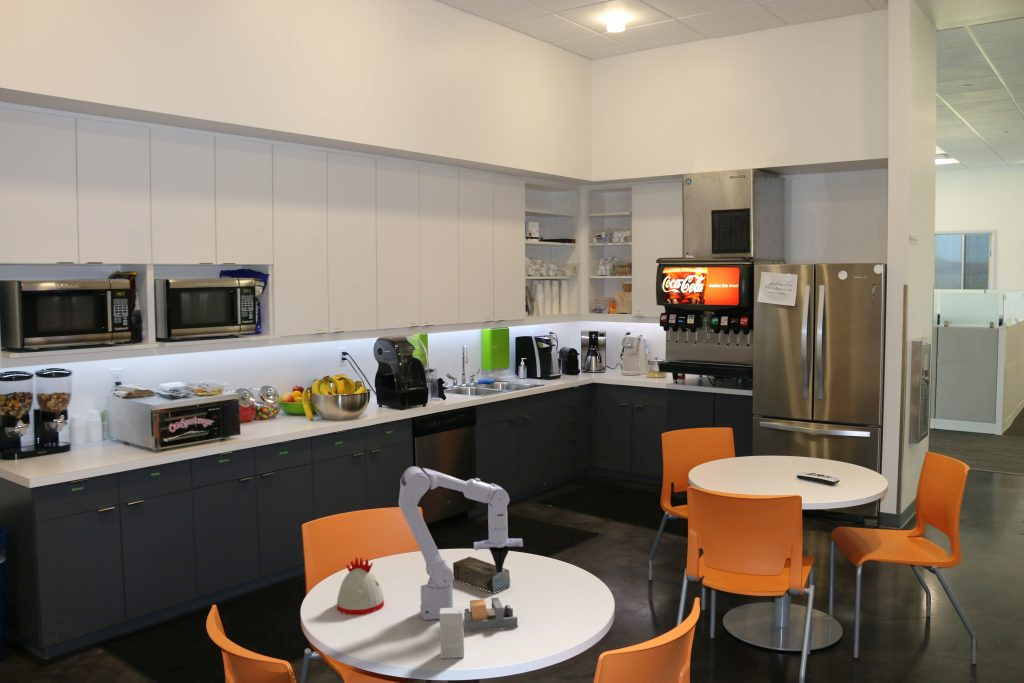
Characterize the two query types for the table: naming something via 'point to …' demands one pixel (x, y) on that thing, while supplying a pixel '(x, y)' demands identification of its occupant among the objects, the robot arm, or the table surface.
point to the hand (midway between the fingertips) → (499, 571)
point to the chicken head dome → (360, 590)
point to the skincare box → (451, 632)
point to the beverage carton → (481, 574)
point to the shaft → (492, 614)
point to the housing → (491, 623)
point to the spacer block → (478, 609)
